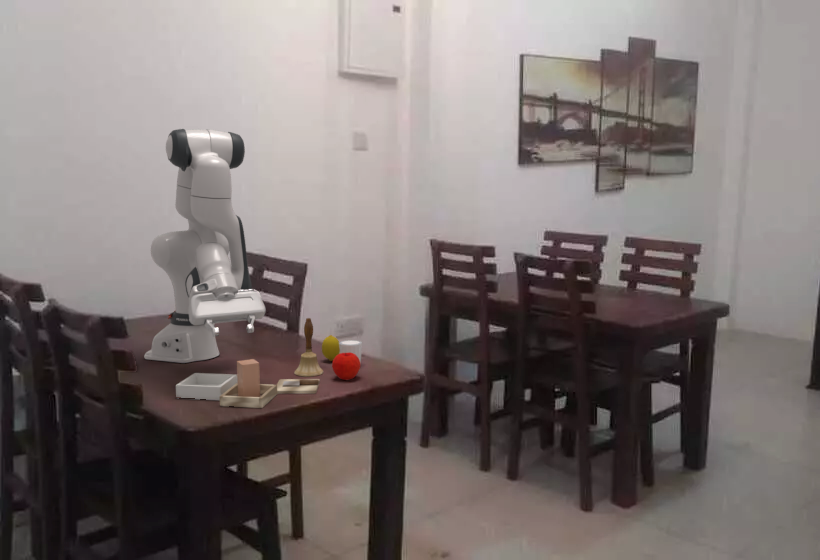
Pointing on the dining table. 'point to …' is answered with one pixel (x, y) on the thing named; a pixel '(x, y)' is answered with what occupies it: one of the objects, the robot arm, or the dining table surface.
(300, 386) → the lid with scoop
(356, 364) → the apple
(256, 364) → the terracotta brick
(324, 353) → the lemon
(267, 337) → the dining table surface
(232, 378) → the white square tray
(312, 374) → the hand bell
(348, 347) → the white round tub
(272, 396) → the birch bin
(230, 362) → the dining table surface
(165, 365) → the dining table surface
